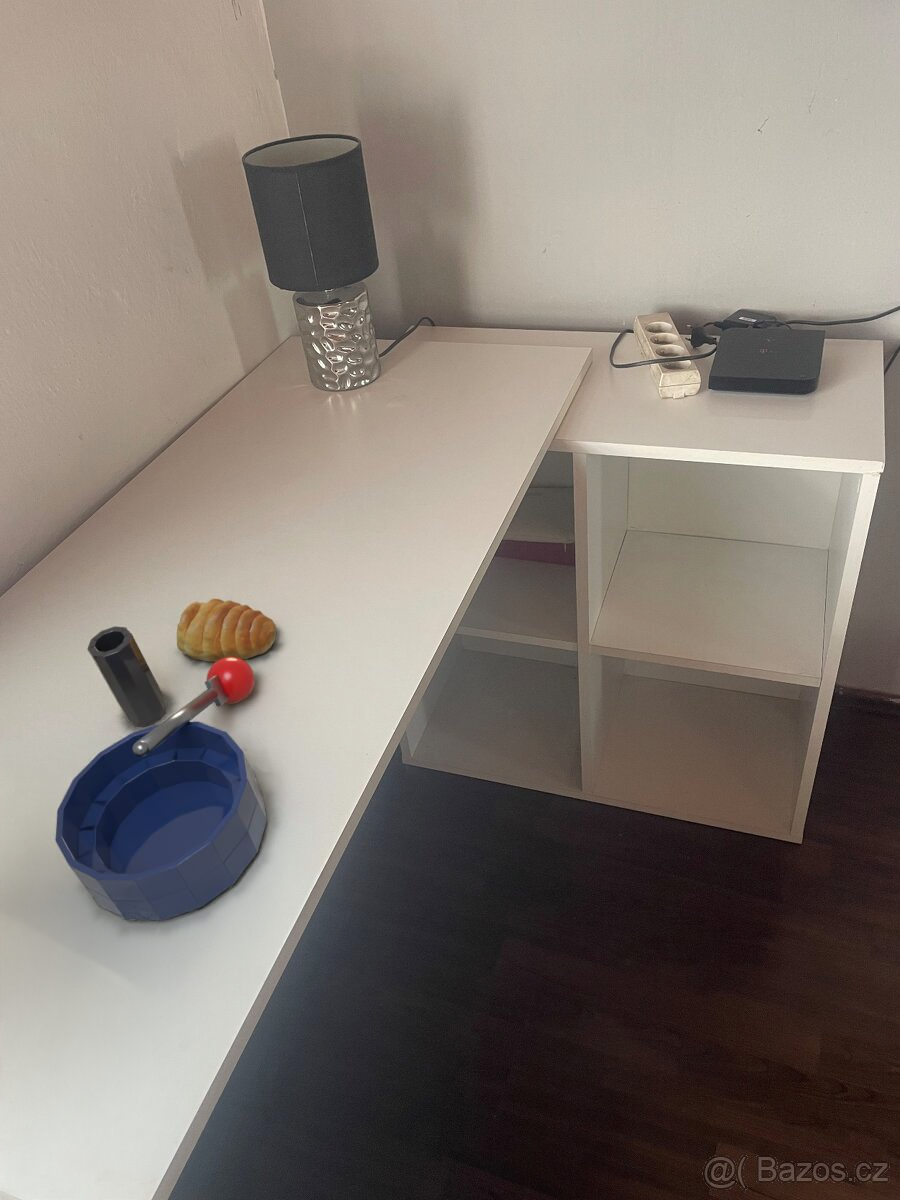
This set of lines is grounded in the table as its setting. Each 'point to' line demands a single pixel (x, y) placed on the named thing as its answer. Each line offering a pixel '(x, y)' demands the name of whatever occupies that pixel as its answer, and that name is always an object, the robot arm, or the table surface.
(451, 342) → the table surface
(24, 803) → the table surface
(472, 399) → the table surface
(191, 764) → the bowl
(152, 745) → the baster
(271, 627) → the pastry
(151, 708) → the cup
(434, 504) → the table surface
